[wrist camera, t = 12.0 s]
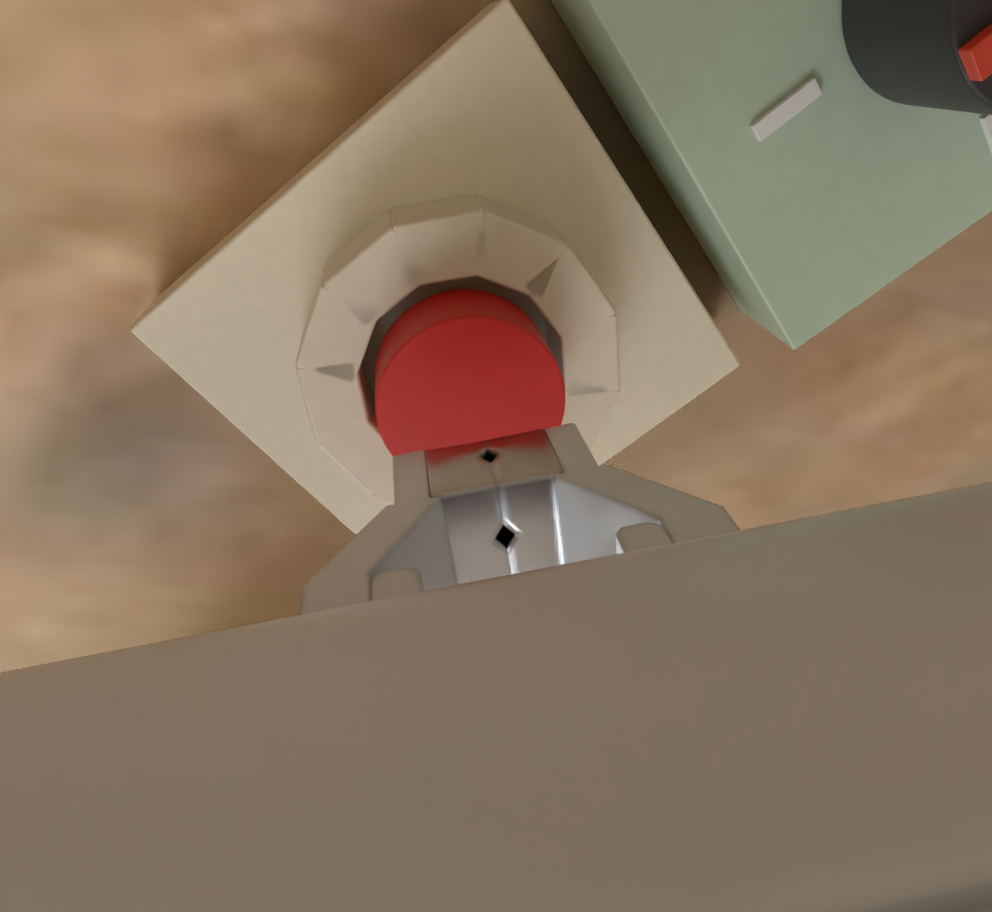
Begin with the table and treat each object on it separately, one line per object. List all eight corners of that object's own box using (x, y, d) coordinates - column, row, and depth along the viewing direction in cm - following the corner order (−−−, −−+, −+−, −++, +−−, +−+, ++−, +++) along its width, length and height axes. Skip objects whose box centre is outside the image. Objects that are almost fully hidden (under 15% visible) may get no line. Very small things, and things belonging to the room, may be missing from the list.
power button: (478, 250, 15) (490, 274, 13) (580, 382, 16) (601, 417, 15) (337, 364, 16) (333, 399, 14) (449, 480, 17) (456, 523, 16)
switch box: (491, 1, 16) (524, -10, 13) (707, 334, 20) (776, 395, 17) (153, 299, 18) (100, 361, 14) (416, 547, 22) (424, 641, 19)
